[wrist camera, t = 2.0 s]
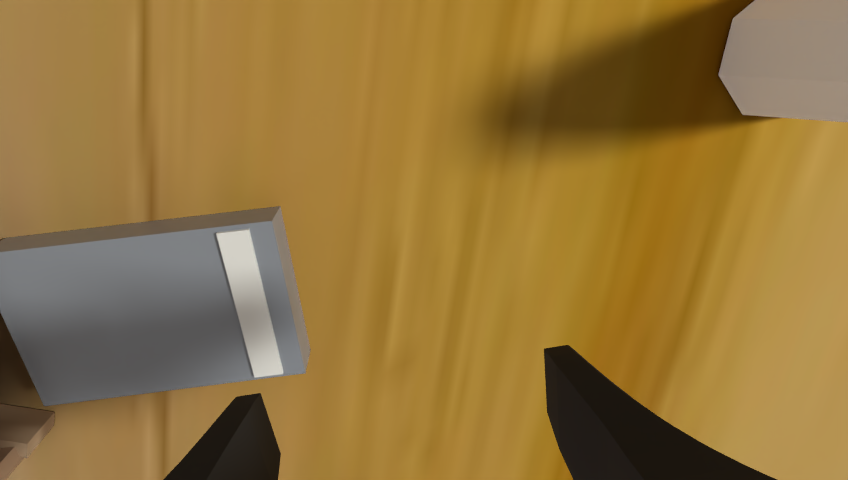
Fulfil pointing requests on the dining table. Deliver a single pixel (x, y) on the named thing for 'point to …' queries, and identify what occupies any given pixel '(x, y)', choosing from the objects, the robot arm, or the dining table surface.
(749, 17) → the salt shaker
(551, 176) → the dining table surface
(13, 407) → the shelf
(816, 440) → the dining table surface
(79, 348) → the tile
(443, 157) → the dining table surface
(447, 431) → the dining table surface
